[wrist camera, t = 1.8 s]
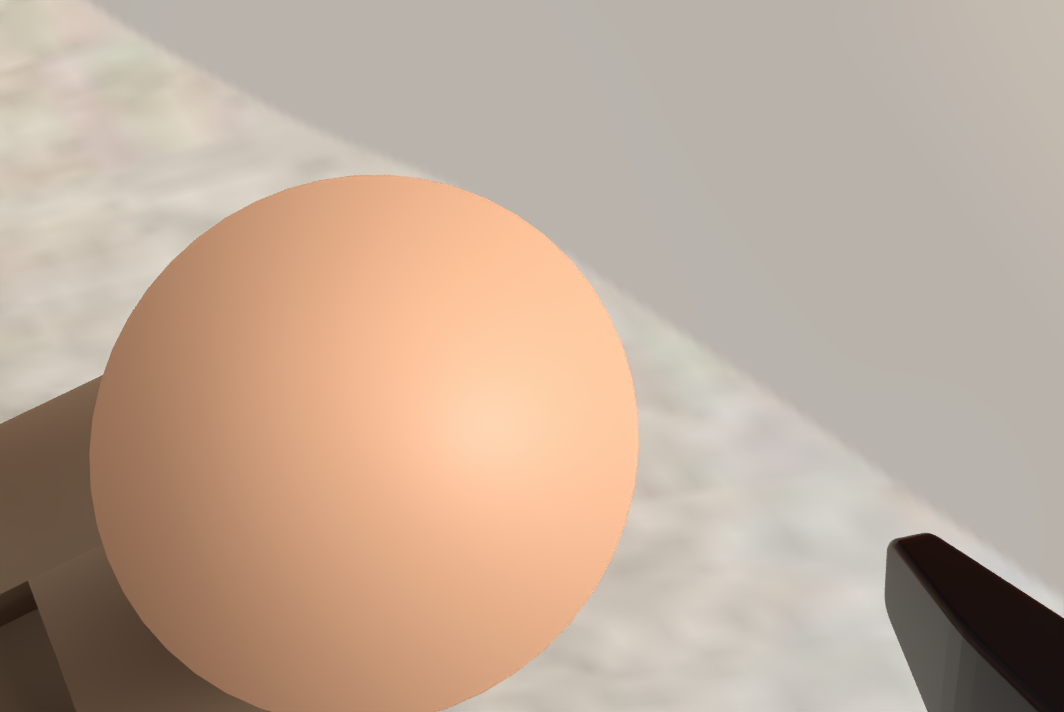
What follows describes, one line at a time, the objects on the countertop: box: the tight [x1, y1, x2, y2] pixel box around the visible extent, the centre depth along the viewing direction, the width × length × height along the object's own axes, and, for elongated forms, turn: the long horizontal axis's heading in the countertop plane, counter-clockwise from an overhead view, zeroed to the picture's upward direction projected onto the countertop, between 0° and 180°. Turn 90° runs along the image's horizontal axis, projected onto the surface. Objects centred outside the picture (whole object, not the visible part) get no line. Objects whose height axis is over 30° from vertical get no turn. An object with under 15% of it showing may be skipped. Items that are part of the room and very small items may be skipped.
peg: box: [89, 175, 639, 712], centre depth 13 cm, size 4×4×12 cm
